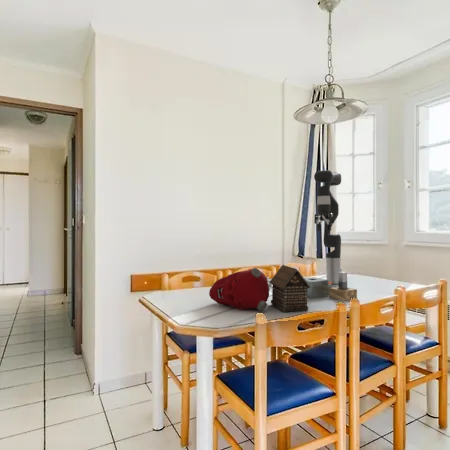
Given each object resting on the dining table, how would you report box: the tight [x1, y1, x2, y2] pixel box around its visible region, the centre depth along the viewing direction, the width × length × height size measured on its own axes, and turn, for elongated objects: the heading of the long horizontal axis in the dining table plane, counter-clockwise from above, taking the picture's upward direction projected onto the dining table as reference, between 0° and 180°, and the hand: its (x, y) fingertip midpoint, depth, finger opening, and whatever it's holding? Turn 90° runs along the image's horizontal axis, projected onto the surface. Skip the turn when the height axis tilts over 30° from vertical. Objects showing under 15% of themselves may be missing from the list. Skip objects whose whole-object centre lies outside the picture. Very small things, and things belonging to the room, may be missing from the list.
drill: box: [338, 271, 348, 290], centre depth 185 cm, size 3×3×14 cm
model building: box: [269, 264, 310, 313], centre depth 166 cm, size 18×14×20 cm
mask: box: [208, 267, 270, 312], centre depth 170 cm, size 20×26×30 cm
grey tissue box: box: [303, 276, 338, 299], centre depth 194 cm, size 20×12×9 cm, turn 116°
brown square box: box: [329, 286, 358, 302], centre depth 185 cm, size 10×10×5 cm
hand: (324, 230), depth 204 cm, fingers open, 8 cm apart
